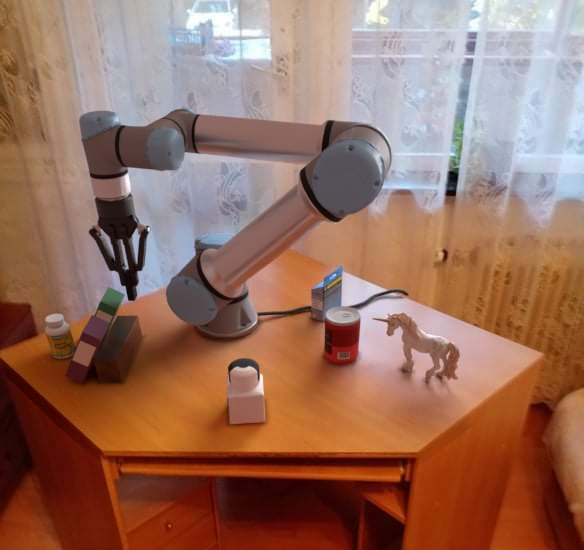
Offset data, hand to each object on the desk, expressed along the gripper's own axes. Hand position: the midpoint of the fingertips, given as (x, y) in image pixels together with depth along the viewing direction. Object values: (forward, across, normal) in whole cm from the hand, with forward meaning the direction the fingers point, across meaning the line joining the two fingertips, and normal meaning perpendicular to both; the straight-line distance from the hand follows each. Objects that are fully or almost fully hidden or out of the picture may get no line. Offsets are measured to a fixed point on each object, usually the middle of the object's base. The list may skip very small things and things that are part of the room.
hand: (132, 297), depth 135 cm
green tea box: (+11, +11, 0) cm, 16 cm away
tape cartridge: (+12, -45, -15) cm, 49 cm away
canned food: (+12, -48, +5) cm, 50 cm away
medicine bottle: (+12, -28, +26) cm, 40 cm away
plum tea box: (+11, +11, +13) cm, 20 cm away
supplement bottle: (+13, +17, +4) cm, 22 cm away
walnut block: (+12, +3, +6) cm, 14 cm away
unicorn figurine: (+12, -63, +13) cm, 65 cm away
